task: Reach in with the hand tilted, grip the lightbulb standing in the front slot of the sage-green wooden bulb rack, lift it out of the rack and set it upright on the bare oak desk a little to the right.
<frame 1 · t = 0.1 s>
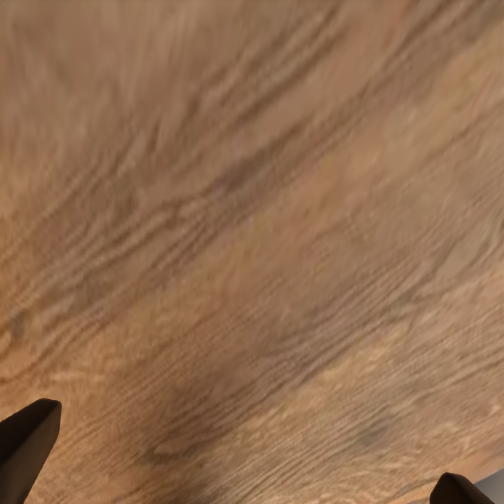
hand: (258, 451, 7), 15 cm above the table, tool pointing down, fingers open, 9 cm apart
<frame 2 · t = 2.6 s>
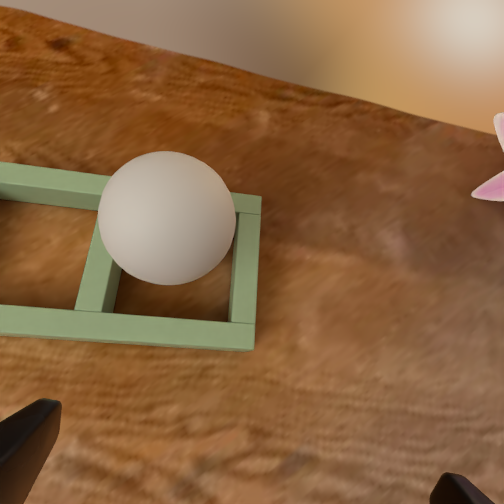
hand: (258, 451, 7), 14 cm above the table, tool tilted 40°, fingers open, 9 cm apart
lightbulb: (178, 270, 23), resting in bulb rack
bulb rack: (111, 262, 22), on the table
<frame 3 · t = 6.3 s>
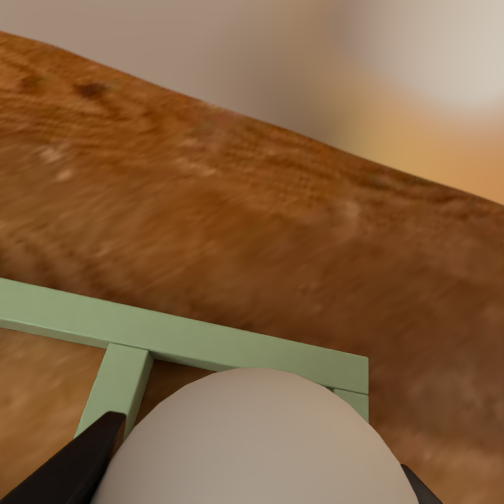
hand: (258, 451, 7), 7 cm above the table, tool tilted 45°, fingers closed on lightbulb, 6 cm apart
lightbulb: (216, 470, 13), resting in bulb rack, touching gripper
bulb rack: (106, 452, 13), on the table
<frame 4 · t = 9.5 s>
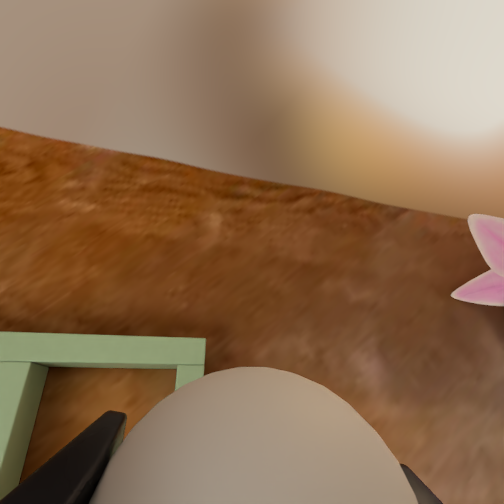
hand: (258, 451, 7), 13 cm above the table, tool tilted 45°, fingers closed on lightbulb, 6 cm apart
lightbulb: (216, 470, 13), point 6 cm above the table, touching gripper
lily: (493, 296, 27), on the table
bulb rack: (15, 440, 17), on the table
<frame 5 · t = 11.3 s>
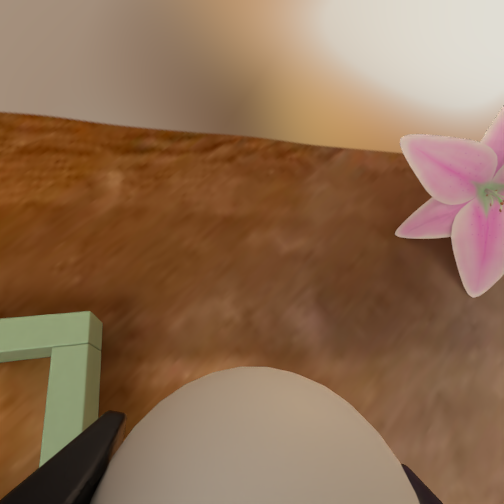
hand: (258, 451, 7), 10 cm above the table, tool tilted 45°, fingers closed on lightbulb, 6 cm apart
lightbulb: (216, 470, 13), point 3 cm above the table, touching gripper
lily: (441, 230, 25), on the table
when the fingers open (7 cm above the table, at t = 12.7 s): lightbulb stays where it is, on the table.
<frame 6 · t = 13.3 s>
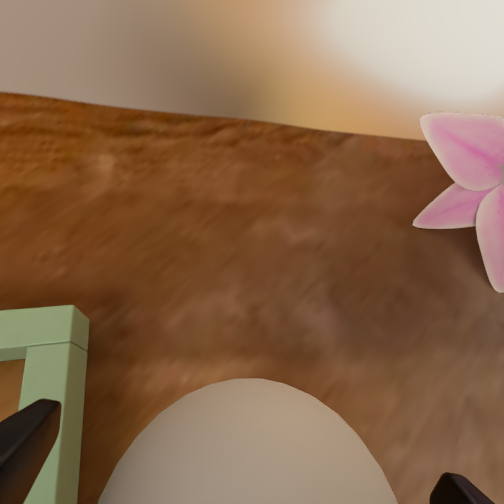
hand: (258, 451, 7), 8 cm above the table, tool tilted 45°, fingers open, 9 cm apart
lightbulb: (215, 472, 14), on the table
lily: (461, 221, 23), on the table
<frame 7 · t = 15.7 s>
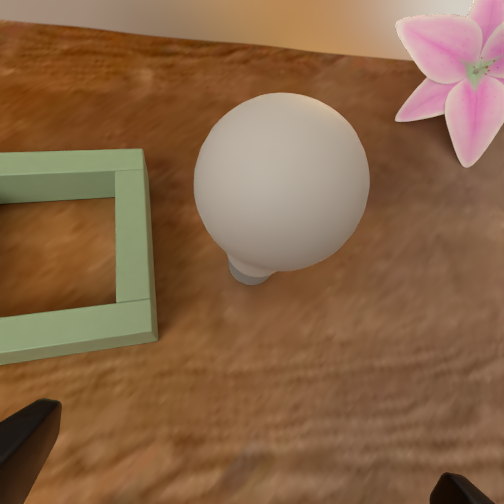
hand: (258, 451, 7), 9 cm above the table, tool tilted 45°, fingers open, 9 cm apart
lightbulb: (248, 270, 19), on the table
lily: (436, 119, 27), on the table
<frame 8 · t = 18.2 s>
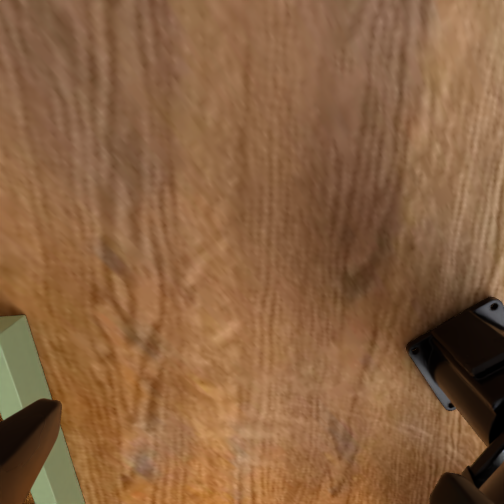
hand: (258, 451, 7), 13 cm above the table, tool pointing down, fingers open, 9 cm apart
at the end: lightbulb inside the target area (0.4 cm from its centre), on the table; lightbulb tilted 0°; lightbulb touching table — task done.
